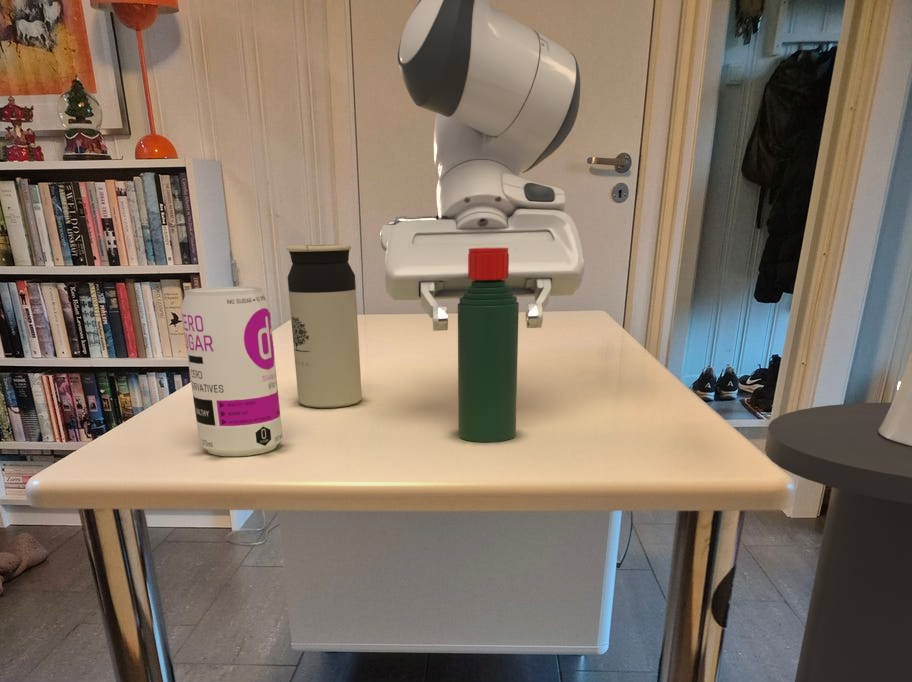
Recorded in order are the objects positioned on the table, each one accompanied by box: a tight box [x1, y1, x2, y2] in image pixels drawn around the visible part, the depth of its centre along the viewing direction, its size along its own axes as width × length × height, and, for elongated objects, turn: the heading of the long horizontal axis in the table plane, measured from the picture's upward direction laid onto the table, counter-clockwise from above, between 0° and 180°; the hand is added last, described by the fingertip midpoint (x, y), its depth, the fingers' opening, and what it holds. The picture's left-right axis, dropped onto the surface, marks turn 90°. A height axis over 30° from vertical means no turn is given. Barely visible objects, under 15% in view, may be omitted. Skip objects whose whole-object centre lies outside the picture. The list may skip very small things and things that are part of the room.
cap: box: [468, 248, 509, 280], centre depth 82 cm, size 4×4×3 cm
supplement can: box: [180, 285, 283, 457], centre depth 83 cm, size 8×8×15 cm
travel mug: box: [286, 243, 363, 409], centre depth 104 cm, size 8×8×18 cm
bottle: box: [457, 280, 520, 443], centre depth 86 cm, size 6×6×18 cm
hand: (487, 325), depth 85 cm, fingers open, 8 cm apart
